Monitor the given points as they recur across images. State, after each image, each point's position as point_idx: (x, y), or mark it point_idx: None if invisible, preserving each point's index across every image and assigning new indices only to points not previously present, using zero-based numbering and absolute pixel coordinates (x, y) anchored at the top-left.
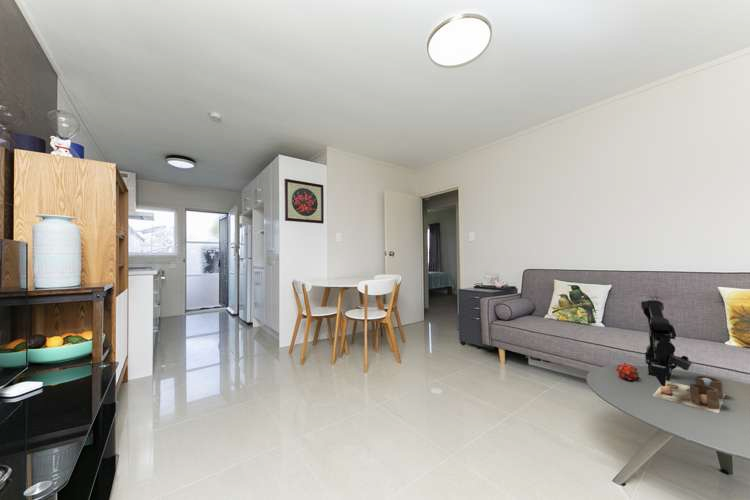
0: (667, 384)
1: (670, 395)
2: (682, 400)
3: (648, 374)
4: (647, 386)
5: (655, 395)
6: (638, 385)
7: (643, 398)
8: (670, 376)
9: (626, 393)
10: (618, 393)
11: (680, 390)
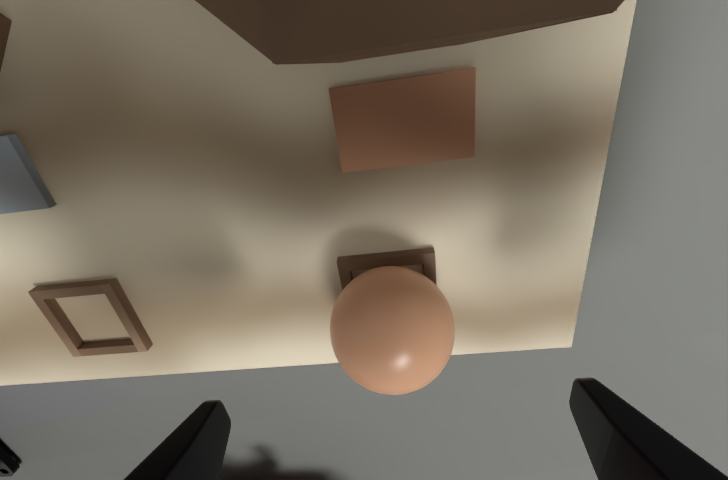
0: (98, 354)
1: (434, 257)
2: (483, 136)
3: (4, 473)
4: (292, 414)
5: (539, 333)
6: (336, 447)
7: (670, 363)
8: (145, 475)
9: None
10: None
11: (122, 245)
